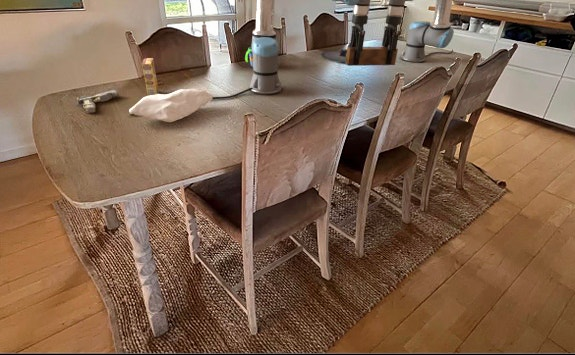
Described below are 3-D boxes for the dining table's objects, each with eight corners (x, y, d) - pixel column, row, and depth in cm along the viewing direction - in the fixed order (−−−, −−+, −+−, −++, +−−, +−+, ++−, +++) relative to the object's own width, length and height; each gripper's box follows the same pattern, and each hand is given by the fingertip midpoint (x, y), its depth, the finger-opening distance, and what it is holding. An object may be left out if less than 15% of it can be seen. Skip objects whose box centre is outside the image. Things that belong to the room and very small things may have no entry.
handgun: (128, 97, 156) (111, 87, 164) (86, 107, 144) (70, 97, 152) (129, 103, 157) (113, 94, 165) (88, 114, 146) (72, 103, 154)
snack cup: (264, 62, 219) (264, 45, 213) (273, 67, 211) (274, 49, 206) (241, 65, 211) (240, 47, 206) (250, 70, 204) (249, 51, 198)
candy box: (157, 97, 164) (152, 63, 155) (147, 98, 163) (141, 63, 155) (158, 91, 171) (153, 57, 163) (149, 91, 170) (143, 58, 162)
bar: (348, 65, 187) (350, 49, 183) (345, 63, 192) (347, 46, 187) (394, 65, 192) (397, 49, 187) (391, 62, 196) (393, 46, 191)
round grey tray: (386, 59, 233) (388, 44, 229) (346, 66, 216) (347, 50, 211) (349, 51, 258) (350, 37, 253) (310, 56, 240) (311, 42, 236)
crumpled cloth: (117, 110, 146) (113, 90, 140) (195, 92, 166) (194, 73, 160) (143, 139, 134) (140, 118, 128) (223, 116, 154) (224, 96, 148)
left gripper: (374, 18, 170) (366, 67, 183) (361, 11, 185) (355, 58, 198) (359, 17, 169) (352, 68, 182) (347, 11, 184) (342, 58, 197)
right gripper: (409, 18, 173) (399, 67, 186) (394, 12, 188) (386, 58, 201) (394, 18, 172) (385, 67, 185) (380, 12, 187) (373, 58, 200)
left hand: (354, 62), depth 190 cm, fingers closed on bar, 5 cm apart
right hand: (386, 62), depth 193 cm, fingers closed on bar, 5 cm apart
